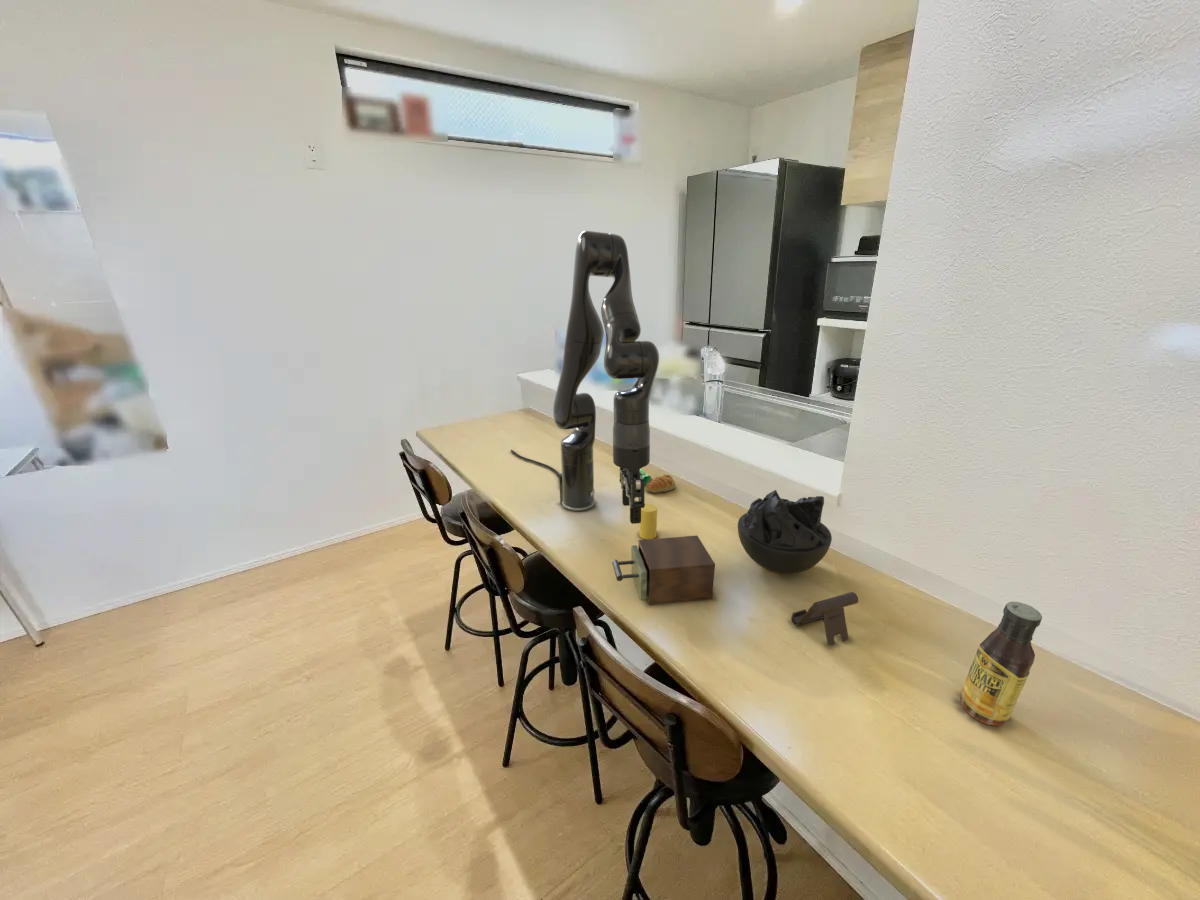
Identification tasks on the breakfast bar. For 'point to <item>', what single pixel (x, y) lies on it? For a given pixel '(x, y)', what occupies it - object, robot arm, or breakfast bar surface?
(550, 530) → the breakfast bar surface
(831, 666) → the breakfast bar surface
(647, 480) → the candy
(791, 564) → the coal bowl
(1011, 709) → the sauce bottle
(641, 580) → the drawer
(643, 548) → the cabinet
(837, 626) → the tablet stand
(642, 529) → the canister
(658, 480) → the pastry
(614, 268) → the robot arm
